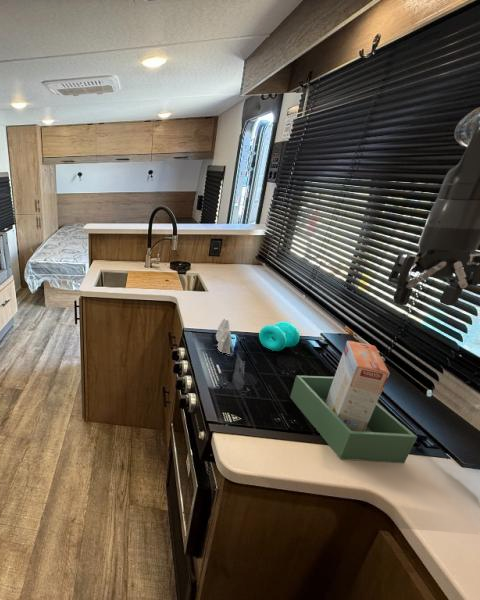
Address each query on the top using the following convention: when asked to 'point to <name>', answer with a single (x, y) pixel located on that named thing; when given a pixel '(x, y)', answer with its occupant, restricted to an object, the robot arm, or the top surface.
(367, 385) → the cracker box
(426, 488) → the top surface
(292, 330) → the donuts
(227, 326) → the grey jagged slab
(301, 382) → the tote
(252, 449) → the top surface
